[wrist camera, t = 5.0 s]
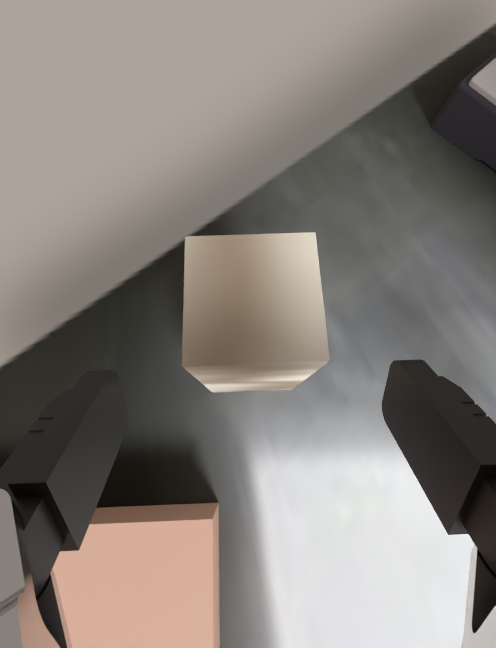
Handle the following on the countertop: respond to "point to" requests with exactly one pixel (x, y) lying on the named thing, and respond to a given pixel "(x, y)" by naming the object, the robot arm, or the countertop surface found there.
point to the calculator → (472, 114)
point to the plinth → (144, 578)
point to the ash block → (253, 311)
